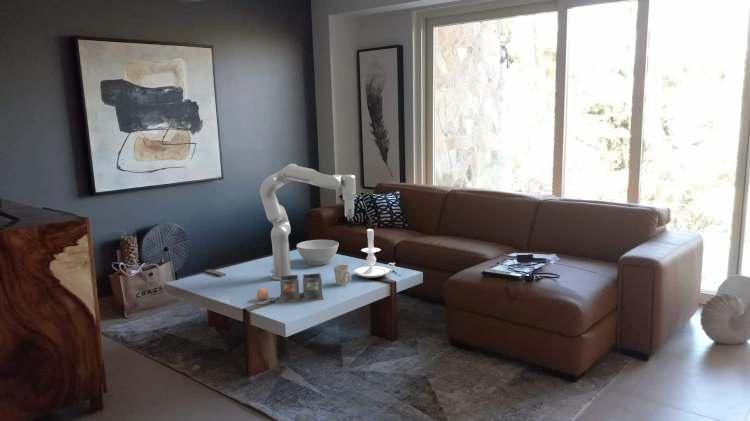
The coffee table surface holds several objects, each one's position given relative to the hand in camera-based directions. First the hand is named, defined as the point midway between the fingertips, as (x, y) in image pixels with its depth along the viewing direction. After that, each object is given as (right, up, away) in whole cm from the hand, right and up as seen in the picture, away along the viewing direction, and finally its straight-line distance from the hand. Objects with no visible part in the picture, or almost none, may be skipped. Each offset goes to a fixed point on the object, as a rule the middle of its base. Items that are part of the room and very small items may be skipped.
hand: (350, 226), depth 339 cm
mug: (-3, -32, -11) cm, 34 cm away
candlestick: (+14, -29, +3) cm, 33 cm away
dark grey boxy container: (-24, -36, -32) cm, 54 cm away
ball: (-43, -34, -36) cm, 66 cm away
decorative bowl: (-22, -25, +38) cm, 51 cm away
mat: (-43, -37, -35) cm, 67 cm away
